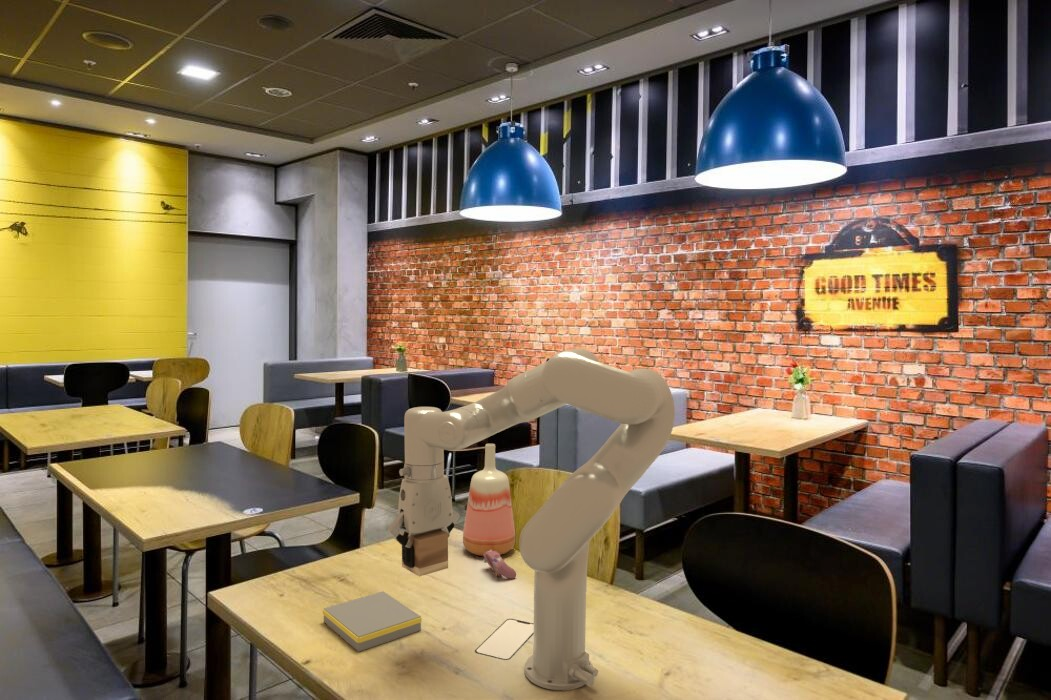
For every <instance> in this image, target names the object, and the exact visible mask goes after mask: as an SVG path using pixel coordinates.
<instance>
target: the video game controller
mask: <svg viewBox="0 0 1051 700" xmlns="http://www.w3.org/2000/svg"><path fill="white" fill-rule="evenodd" d="M501 556H502V555H500V554H499V553H498V552H496V551H492V550H490V551H487V552H485V553H484V554H483V556H482V557H483V563H484V564H488V566H489V567H490V569H491V570H492V572H493V573H495V575H496V576H498V577H499V578H500V577H502V576H503V577H504V578H507V579H509V580H513V579H515V578H516V577H517V572H516V570H515V569H514V568H512V567H511V566H510V565H508V564H507V563H506V561H504V559H503V557H501Z"/></svg>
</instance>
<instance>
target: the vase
mask: <svg viewBox="0 0 1051 700" xmlns="http://www.w3.org/2000/svg"><path fill="white" fill-rule="evenodd" d="M484 450H485V453H484V467H483V469H482V470H481V469H480V470H479V471H477V472H475V473H474V474H473V475H472V477H471V479H470V480H471V481H470V484H469V485H470V486H469V490H468V491H469V492H468V497H467V498H468V499H467V505H466V511H465V518H464V523H463V524H464V525H463V531H462V544H463V547H464V548H465V549H466V551H467V552H470V553H471V554H472V555H475V556H479V557H484V556H483V554H484V553H485V552H487V551H490V550H492V551H496V552H498V553H499V554H500V556H503V555H505V554H507V553H509V552H510V551H511V550H512V549H513V548H514V546H515V544H516V530H515V522H514V512H513V505H512V497H511V496H512V495H511V489H510V488H511V487H510V481H509V477H508V475H507V473H505V472H503V471H502V470H498V469H497V468H496V444H495V443H486V444H485V447H484Z"/></svg>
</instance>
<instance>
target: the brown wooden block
mask: <svg viewBox="0 0 1051 700" xmlns="http://www.w3.org/2000/svg"><path fill="white" fill-rule="evenodd" d="M402 533H403V530H402V531H401V534H402ZM412 547H414V556H415V566H414V567H413V568H410V567H408V566H406V565H404V563H403V561H402V560H401V567H402V568H403V569H405V570H407V571H408V572H411V573H412V574H414V575H416V576H418V577H422V576H426V575H429V574H433V573H437V572H440V571H443V570H446V569H449V538H448V533H447V532H445V531H441V530H440V529H437V530H433V531H429V532H425V533H420V534H416V535H415V538H414V541H413V544H412Z"/></svg>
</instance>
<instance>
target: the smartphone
mask: <svg viewBox="0 0 1051 700" xmlns="http://www.w3.org/2000/svg"><path fill="white" fill-rule="evenodd" d="M532 636H534V622H529V621H523V620H519V619H514V618H507V619H506V620H505V621H503V622H502V624H500V625H499V626H498V628H496V629H495V630H494V631H493V632H492V633H491V634H490V635H489V636H488V637H487V638H486V639H485V640H484V641H483V642H482V643H481V644H480V645H478V647H477V648H476V649H475V650H474V653H475V654H479V655H483V656H486V657H490V658H495V659H497V660H503V661H509V660H511V659H512V658H513V657H514V656H515V655H516V654H517V653H518V651H519V650H521V648H522V647H523V646H524V645H526V643H527V642H528V641H529V639H531V638H532Z"/></svg>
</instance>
